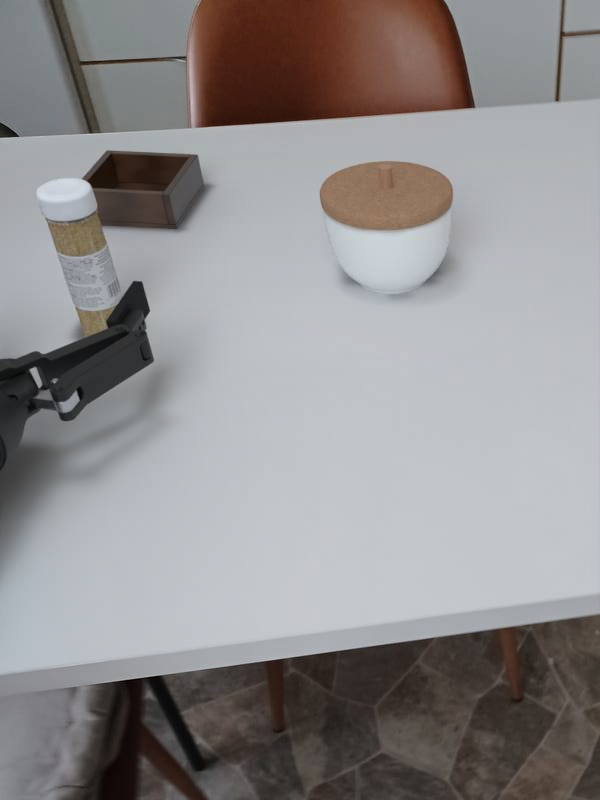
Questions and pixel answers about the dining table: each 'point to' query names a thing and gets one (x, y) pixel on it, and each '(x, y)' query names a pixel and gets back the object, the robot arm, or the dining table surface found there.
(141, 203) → the box
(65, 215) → the brown spice jar
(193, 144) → the dining table surface
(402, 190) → the lidded bowl
